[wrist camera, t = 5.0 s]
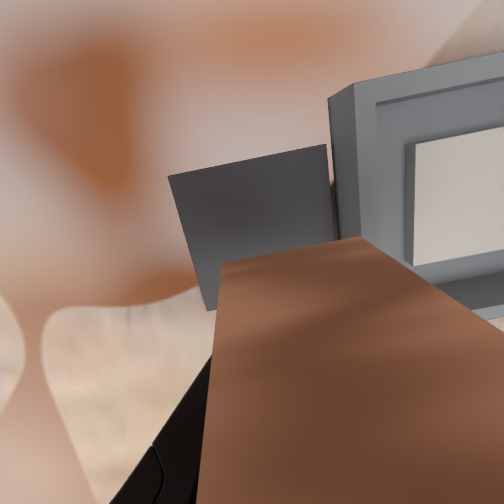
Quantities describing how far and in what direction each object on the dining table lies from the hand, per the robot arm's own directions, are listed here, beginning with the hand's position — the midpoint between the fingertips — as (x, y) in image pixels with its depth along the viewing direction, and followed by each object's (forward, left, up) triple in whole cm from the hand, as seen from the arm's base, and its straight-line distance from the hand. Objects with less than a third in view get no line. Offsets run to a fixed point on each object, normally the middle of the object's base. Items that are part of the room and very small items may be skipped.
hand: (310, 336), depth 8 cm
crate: (-13, 0, -12) cm, 18 cm away
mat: (+1, 0, -12) cm, 12 cm away
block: (0, 0, -2) cm, 2 cm away
